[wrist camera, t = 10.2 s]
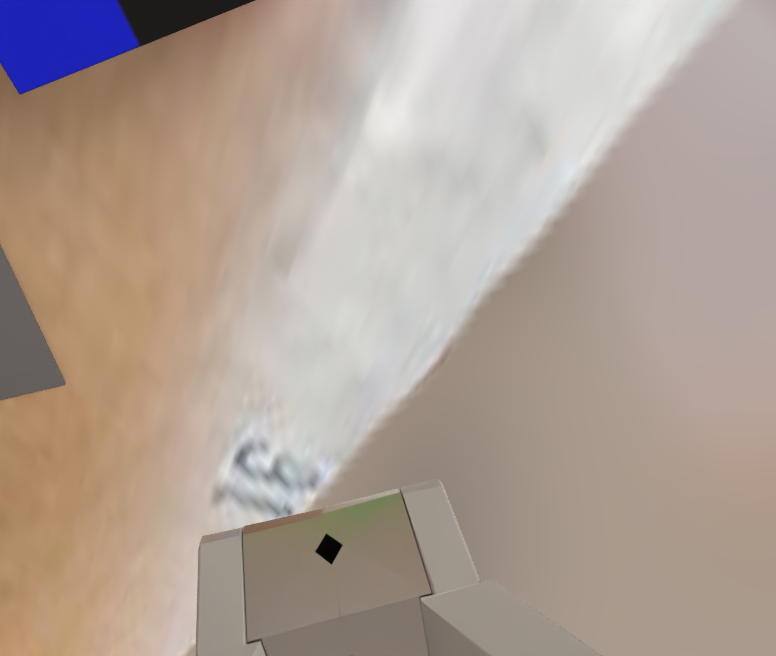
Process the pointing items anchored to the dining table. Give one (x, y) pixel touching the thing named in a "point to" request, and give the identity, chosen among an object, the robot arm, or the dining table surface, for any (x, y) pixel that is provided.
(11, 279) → the mark
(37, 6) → the puzzle toy
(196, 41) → the dining table surface
